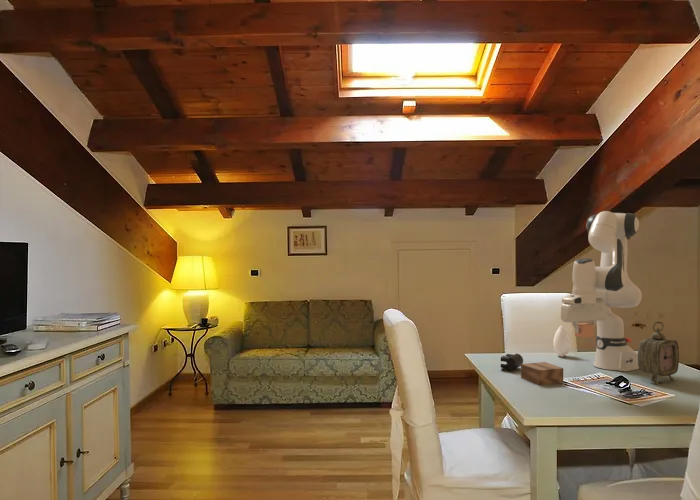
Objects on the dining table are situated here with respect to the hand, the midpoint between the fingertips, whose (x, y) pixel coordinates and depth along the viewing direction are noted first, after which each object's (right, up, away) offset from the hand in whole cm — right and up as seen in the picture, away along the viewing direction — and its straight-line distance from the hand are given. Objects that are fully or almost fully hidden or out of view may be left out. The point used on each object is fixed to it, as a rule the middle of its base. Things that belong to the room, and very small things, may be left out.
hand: (584, 332), depth 209 cm
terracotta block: (0, -2, 0) cm, 2 cm away
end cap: (-22, -22, +25) cm, 40 cm away
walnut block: (-15, -21, +6) cm, 27 cm away
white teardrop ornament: (+12, -21, +52) cm, 57 cm away
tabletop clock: (+32, -21, +3) cm, 38 cm away
